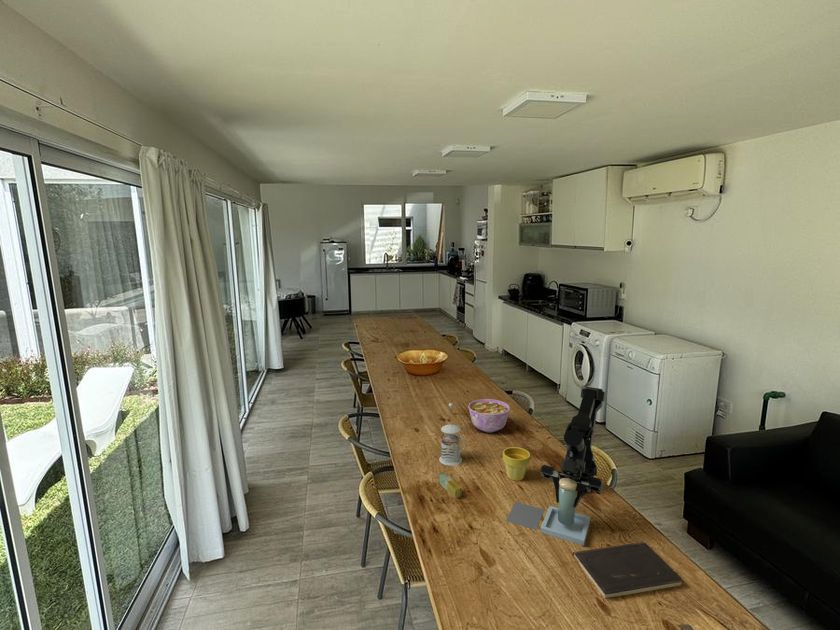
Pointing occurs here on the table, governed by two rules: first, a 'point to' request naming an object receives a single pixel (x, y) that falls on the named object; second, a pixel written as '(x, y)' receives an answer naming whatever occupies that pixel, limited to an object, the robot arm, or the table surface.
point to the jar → (566, 501)
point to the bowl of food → (489, 414)
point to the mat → (525, 515)
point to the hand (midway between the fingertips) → (565, 505)
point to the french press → (453, 456)
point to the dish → (566, 527)
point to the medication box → (450, 485)
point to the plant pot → (516, 462)
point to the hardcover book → (626, 569)
